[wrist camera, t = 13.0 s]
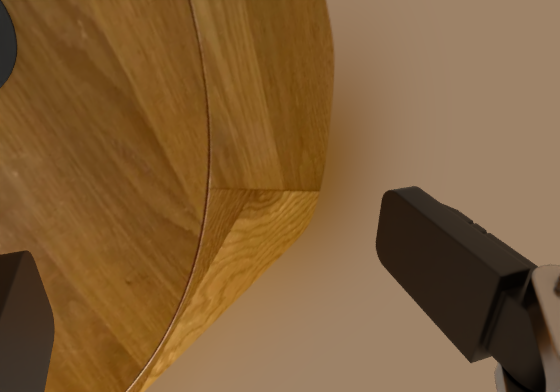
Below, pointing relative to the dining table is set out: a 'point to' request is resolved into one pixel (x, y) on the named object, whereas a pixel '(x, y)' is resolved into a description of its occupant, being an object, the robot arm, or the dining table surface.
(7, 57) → the coaster
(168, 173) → the dining table surface
